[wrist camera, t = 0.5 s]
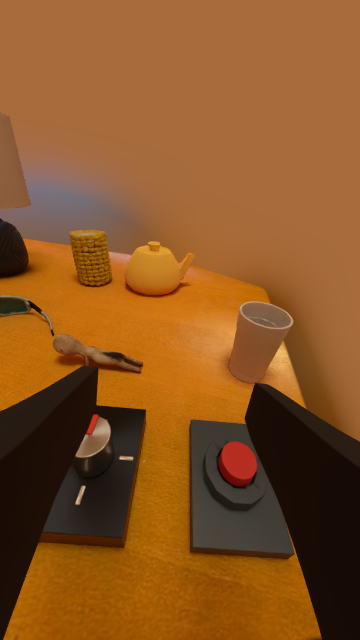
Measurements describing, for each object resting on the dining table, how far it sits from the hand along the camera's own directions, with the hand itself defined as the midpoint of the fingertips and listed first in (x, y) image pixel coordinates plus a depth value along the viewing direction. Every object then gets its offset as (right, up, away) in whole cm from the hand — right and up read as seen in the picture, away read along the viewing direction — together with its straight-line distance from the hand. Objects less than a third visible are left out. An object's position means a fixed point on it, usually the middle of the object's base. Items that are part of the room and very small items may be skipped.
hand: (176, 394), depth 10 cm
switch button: (+6, -12, +13) cm, 19 cm away
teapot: (-7, +14, +58) cm, 61 cm away
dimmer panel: (-9, -13, +15) cm, 22 cm away
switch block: (+6, -15, +15) cm, 22 cm away
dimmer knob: (-9, -11, +13) cm, 19 cm away
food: (-26, +15, +56) cm, 64 cm away
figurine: (-14, -4, +28) cm, 32 cm away
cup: (+12, -6, +30) cm, 33 cm away
